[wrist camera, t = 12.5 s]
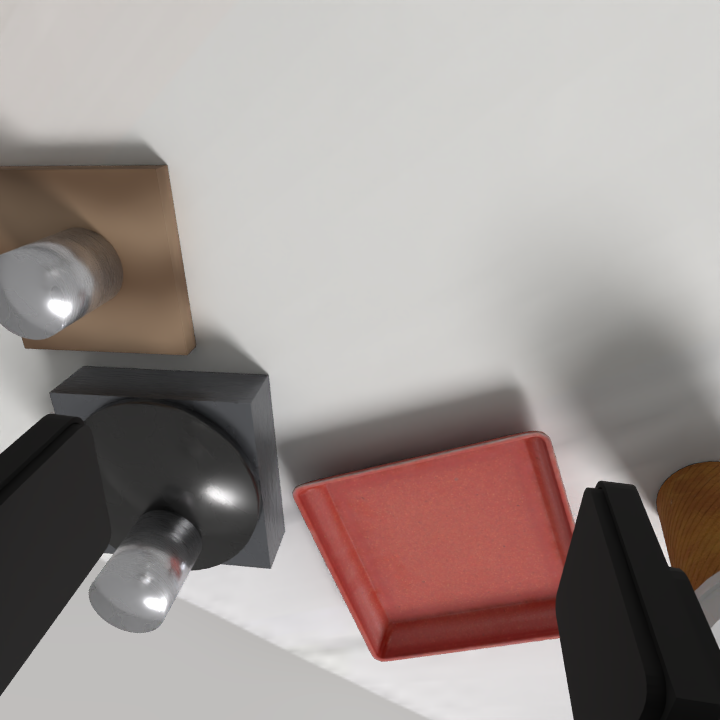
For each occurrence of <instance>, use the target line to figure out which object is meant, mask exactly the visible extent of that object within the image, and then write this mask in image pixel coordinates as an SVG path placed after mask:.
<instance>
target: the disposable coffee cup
mask: <svg viewBox="0 0 720 720" xmlns="http://www.w3.org/2000/svg"><path fill="white" fill-rule="evenodd" d="M656 504H657V511H658V514H659V518H660V522H661V526H662V531H663V534H664V538H665V543H666V546H667V551H668V555H669V559H670V563H671V567H674V568H680V569H681V570H682V571H684V572H685V574H686V575H687V577H688V579H689V580H690V583H691V585H692V587H693V590H694V592H695V594H696V596H697V599H698V601H699V603H700V605H701V608H702V610H703V612H704V615H705V617H706V619H707V621H708V624H709V626H710V628H711V630H712V633H713V635H714V637H715V640H716V642H717V644H718V646H719V649H720V462H703V463H697V464H693V465H690V466H687V467H685V468H683V469H680V470H679V471H677V472H676V473H674V474H673V475H671V476H670V477H669V478H668V479H667V480H666V481H665V482H664V484H663V485H662V486H661V488H660V490H659V492H658V495H657V500H656Z"/></svg>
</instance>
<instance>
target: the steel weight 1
mask: <svg viewBox="0 0 720 720" xmlns="http://www.w3.org/2000/svg"><path fill="white" fill-rule="evenodd" d="M122 282H123V269H122V264H121V261H120V259H119V256H118V254H117V253H116V251H115V250H114V248H113V247H112V246H111V244H110V243H109V242H108V241H107V240H106V239H104V238H103V237H102V236H101V235H99V234H98V233H96V232H94V231H91V230H89V229H85V228H78V227H76V228H69V229H66V230H63V231H61V232H58V233H56V234H53V235H50V236H48V237H45V238H43V239H40V240H37V241H35V242H32V243H30V244H27V245H24V246H22V247H19V248H17V249H14V250H11V251H9V252H6V253H4V254H1V255H0V324H2V325H3V326H4V327H5V328H6V329H8V330H9V331H11V332H12V333H14V334H16V335H18V336H21V337H23V338H27V339H33V340H41V339H46V338H49V337H51V336H53V335H55V334H56V333H58V332H59V331H61V330H63V329H64V328H66V327H67V326H69V325H71V324H72V323H74V322H75V321H77V320H79V319H80V318H82V317H83V316H85V315H87V314H88V313H90V312H92V311H93V310H95V309H96V308H98V307H100V306H101V305H103V304H104V303H106V302H108V301H109V300H111V299H112V298H113V297H115V296H116V295H117V293H118V292H119V290H120V288H121V286H122Z"/></svg>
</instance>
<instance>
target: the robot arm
mask: <svg viewBox="0 0 720 720" xmlns="http://www.w3.org/2000/svg"><path fill="white" fill-rule="evenodd" d="M111 533H112V532H111V525H110V520H109V515H108V510H107V505H106V500H105V495H104V490H103V485H102V480H101V475H100V470H99V465H98V460H97V455H96V450H95V445H94V440H93V435H92V431H91V429H90V427H89V426H86V425H85V424H84V421H83V420H82V419H81V418H79V417H75V416H67V415H59V414H48V415H46V416H44V417H43V418H42V419H41V420H39V421H38V422H37V423H36V424H35V425H34V426H32V427H31V428H30V429H29V430H28V431H27V432H25V433H24V434H23V435H22V436H21V437H20V438H19V439H17V440H16V441H15V442H14V443H13V444H12V445H10V446H9V447H8V448H7V449H6V450H5V451H3V452H2V453H1V454H0V696H1V694H2V693H3V692H4V690H5V689H6V687H7V686H8V685H9V683H10V682H11V680H12V679H13V678H14V676H15V675H16V673H17V672H18V671H19V669H20V668H21V667H22V665H23V664H24V662H25V661H26V660H27V658H28V657H29V656H30V654H31V653H32V651H33V650H34V649H35V647H36V646H37V644H38V643H39V642H40V640H41V639H42V637H43V636H44V635H45V633H46V632H47V630H48V629H49V628H50V626H51V625H52V624H53V622H54V621H55V619H56V618H57V616H58V615H59V614H60V613H61V611H62V610H63V608H64V607H65V606H66V604H67V603H68V601H69V600H70V599H71V597H72V596H73V595H74V593H75V592H76V590H77V589H78V588H79V586H80V585H81V583H82V582H83V581H84V579H85V578H86V577H87V575H88V574H89V572H90V571H91V570H92V568H93V567H94V565H95V564H96V563H97V561H98V560H99V558H100V557H101V556H102V554H103V553H104V552H105V550H106V549H107V547H108V545H109V542H110V539H111ZM555 610H556V619H557V625H558V630H559V636H560V642H561V648H562V654H563V660H564V665H565V671H566V677H567V683H568V689H569V694H570V700H571V706H572V712H573V718H574V720H720V649H719V646H718V644H717V642H716V640H715V637H714V635H713V633H712V630H711V628H710V626H709V624H708V621H707V619H706V617H705V615H704V612H703V610H702V608H701V605H700V603H699V601H698V599H697V596H696V594H695V592H694V590H693V587H692V585H691V583H690V580H689V579H688V577H687V575H686V574H685V572H684V571H682V570H681V569H680V568H674V567H668V564H667V562H666V559H665V557H664V554H663V552H662V549H661V547H660V545H659V542H658V540H657V537H656V535H655V532H654V530H653V528H652V525H651V523H650V520H649V518H648V515H647V513H646V510H645V508H644V506H643V503H642V501H641V498H640V496H639V493H638V491H637V489H636V487H635V486H634V485H631V484H623V483H615V482H607V481H599V482H598V483H597V485H596V487H595V488H586V489H585V491H584V494H583V498H582V502H581V505H580V509H579V513H578V516H577V520H576V524H575V527H574V531H573V535H572V539H571V542H570V546H569V550H568V553H567V557H566V561H565V564H564V568H563V572H562V576H561V579H560V583H559V587H558V590H557V595H556V604H555Z"/></svg>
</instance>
